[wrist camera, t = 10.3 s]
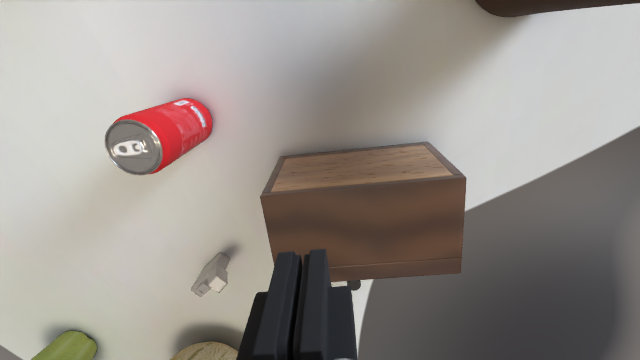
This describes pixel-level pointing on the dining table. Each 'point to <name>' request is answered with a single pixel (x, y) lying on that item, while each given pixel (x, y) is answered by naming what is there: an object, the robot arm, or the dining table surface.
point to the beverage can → (157, 135)
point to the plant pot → (69, 348)
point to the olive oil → (542, 5)
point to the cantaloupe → (206, 352)
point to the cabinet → (369, 210)
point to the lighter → (212, 276)
